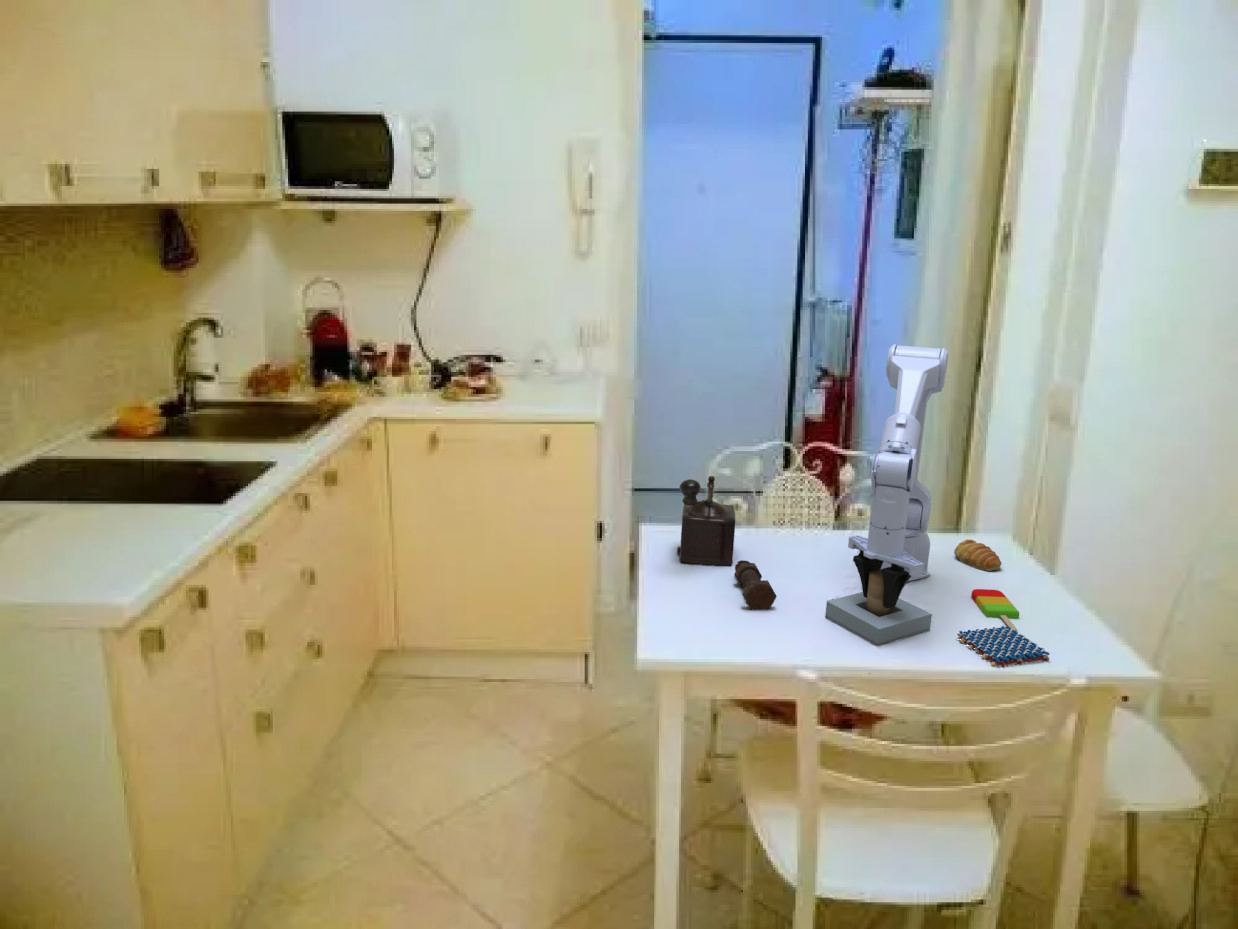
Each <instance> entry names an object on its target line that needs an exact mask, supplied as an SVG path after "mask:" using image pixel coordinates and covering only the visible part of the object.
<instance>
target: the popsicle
mask: <svg viewBox="0 0 1238 929" xmlns="http://www.w3.org/2000/svg"><path fill="white" fill-rule="evenodd" d="M970 596H971V597H970V598H971V600H972V601H973V602H974V604H975V605H976V606H977V608H978V609H979V610H980V612H981V613H982V614H983V616H984V617H985V616H986V617H985V618H989V617H990V618H991V617H992V618H994V619H995V618H996V619H1002V621H1003V622H1004V624H1005V625H1006V627H1010V628H1011V629H1012V628H1013V630H1015V631H1017V632H1018V628H1017V627H1016V626H1015V625H1014V623H1013V622H1012V621H1011V619H1013V620H1014V619H1015V620H1019V618H1020V611H1019V610H1018V609H1017V608H1016V607H1015V605H1014V604H1013V603H1012V602H1011V601H1010V599H1008V597H1007V596H1006V595H1005V593H1003V591H1001V590H997V589H989V588H987V589H985V588H982V589H981V588H974V589H973V590H972V591H971V594H970ZM992 618H991V619H992Z"/></svg>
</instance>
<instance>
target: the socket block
mask: <svg viewBox="0 0 1238 929" xmlns="http://www.w3.org/2000/svg"><path fill="white" fill-rule="evenodd" d="M866 602H867V598H865V597H864V596H863V591H861V592H857V593H856V592H855V593H852V594H850V595H849V594H848V595H844V596H841V597H837V598H834V599H830V600H827V601H826V603H825V604H826V605H825V616H824V617H825V619H828V620H829V621H831V622H833V623H834V624H837V626H840V627H842V628H843V629H845V630H847V631H849V632H851V633H853V634H854V635H857V637H860V638H862V639H863V640H865V641H867V642H869V643H871V644H873V645H874V646H875V647H879V646H883V645H886V644H890V643H894V642H897V641H900V640H903V639H905V638H910V637H914V636H917V635H919V634H923V633H927V632H930V630H931V624H932V616H933V614H932V613H931V612H929V611H927V610H925V609H922V608H920V607H919V606H917V605H915V604H912V603H910V602H908V601H906V600H904V599H902V598H900V597H899V598H898V600H897V603H896V606H894V607H891V613H890V614H888V615H885V616H881V617H878V616H876V615H874V614H872V613H870V612H868V611H866Z"/></svg>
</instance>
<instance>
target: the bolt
mask: <svg viewBox="0 0 1238 929" xmlns="http://www.w3.org/2000/svg"><path fill="white" fill-rule="evenodd" d="M736 562H737V563H736V564H735V566H734V571H735V572H734V574H733V575H734V577H735V579H736V581H737V583H738V584H739V586H740V588H743V589H744V590H743V592H742V595H741V596H743V599H744V601H745V603H746V604H747V606H748V608H749V609H750V610H752V611H767V610H769V609H770V608H771V607H772V606H773V604H774V602H775V601H776V599H777V596H778V595H776V592H775V590H774V589H773V587H772V586H771V583H770V582H769V580H762V577H763V575H762V574H761V572H760V570H759V568H758V566H757V565H756V563H755V562H750V561H748V560H742V559H741V560H739V561H736Z"/></svg>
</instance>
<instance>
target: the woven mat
mask: <svg viewBox="0 0 1238 929" xmlns="http://www.w3.org/2000/svg"><path fill="white" fill-rule="evenodd" d="M956 634H957V637H958V639H961V640H959V642H960V643H961V644H964V643H965V644H966V645H967V644H968V645H969V646H968V647H967V648H968V649H969V650H971V649H974V648H975V650H974V651H975V652H980V653H978V654H979V655H980V654H981V655H982V656H980V658H981V659H983V660H984V659H985V662H986V663H987V662H990V665H991V666H992V667H994V668H996V667H1005V666H1011V665H1012V666H1013V665H1017V664H1018V665H1022V664H1027V663H1029V664H1030V663H1036V662H1037V663H1038V662H1043V661H1044V662H1045V661H1046V662H1047V661H1050V657H1049V656H1050V654H1051V653H1050V652H1049V651H1046V650H1045V648H1044V647H1040V646H1038V643H1035V642H1033V641H1032V640H1031V639H1029V638H1027V637H1026V635H1023V634H1021V633H1019V631H1018V630H1017V631H1015V630H1013V628H1012V629H1011V628H1010V627H1008V626H1006V627H1005V626H1004V625H1001V627H995V626H993V627H992V628H987V627H985V628H984V629H979V628H976V629H975V630H970V629H968V630H967V631H963V630H959V631H958V633H956ZM965 644H964V645H965ZM975 652H974V653H975ZM979 655H978V656H979ZM986 659H987V660H986Z"/></svg>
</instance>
